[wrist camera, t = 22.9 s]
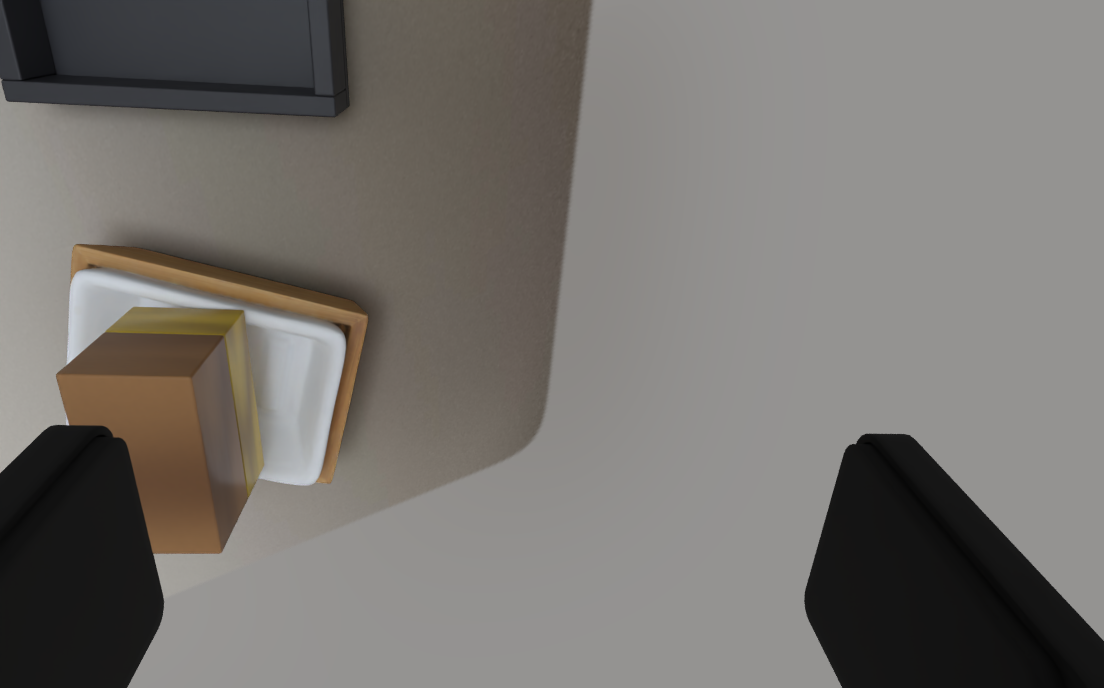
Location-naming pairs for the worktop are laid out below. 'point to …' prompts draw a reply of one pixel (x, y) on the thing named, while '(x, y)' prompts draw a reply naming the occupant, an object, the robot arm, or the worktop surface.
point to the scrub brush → (176, 417)
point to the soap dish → (273, 337)
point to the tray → (177, 54)
